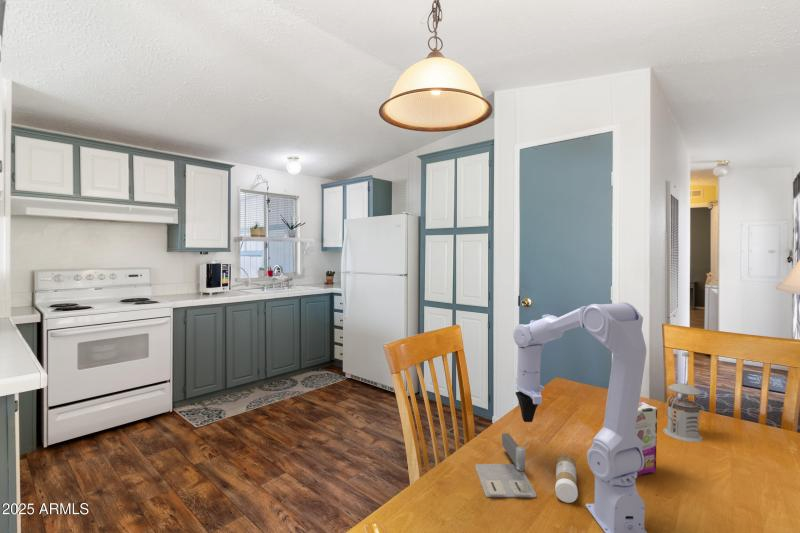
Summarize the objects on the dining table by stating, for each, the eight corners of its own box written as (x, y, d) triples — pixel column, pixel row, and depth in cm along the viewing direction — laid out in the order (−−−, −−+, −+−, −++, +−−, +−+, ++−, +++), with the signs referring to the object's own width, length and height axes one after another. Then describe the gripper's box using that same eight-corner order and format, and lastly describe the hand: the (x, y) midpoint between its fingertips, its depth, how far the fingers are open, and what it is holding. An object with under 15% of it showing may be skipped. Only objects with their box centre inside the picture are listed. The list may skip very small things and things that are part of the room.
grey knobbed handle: (517, 470, 98) (518, 451, 97) (501, 446, 110) (501, 428, 109) (526, 470, 98) (526, 450, 98) (509, 445, 110) (509, 428, 110)
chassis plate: (536, 498, 89) (536, 493, 89) (486, 498, 89) (486, 492, 89) (519, 468, 101) (519, 463, 101) (475, 467, 101) (475, 462, 101)
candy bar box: (639, 462, 105) (642, 400, 104) (656, 473, 100) (659, 408, 99) (603, 468, 102) (606, 404, 101) (619, 479, 97) (622, 412, 96)
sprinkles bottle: (563, 474, 100) (563, 506, 88) (552, 458, 101) (550, 487, 89) (580, 467, 99) (582, 498, 86) (568, 450, 99) (569, 479, 87)
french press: (710, 438, 119) (714, 354, 117) (684, 445, 114) (688, 358, 113) (677, 425, 128) (680, 347, 127) (651, 430, 123) (654, 350, 122)
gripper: (555, 378, 98) (553, 433, 99) (534, 362, 113) (533, 410, 113) (526, 378, 98) (524, 433, 99) (509, 362, 113) (508, 409, 113)
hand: (527, 420), depth 106 cm, fingers closed
